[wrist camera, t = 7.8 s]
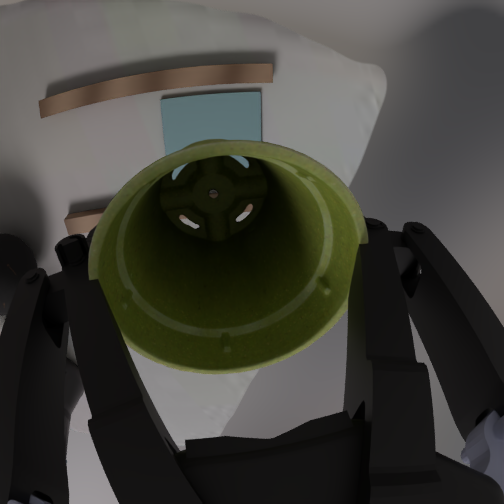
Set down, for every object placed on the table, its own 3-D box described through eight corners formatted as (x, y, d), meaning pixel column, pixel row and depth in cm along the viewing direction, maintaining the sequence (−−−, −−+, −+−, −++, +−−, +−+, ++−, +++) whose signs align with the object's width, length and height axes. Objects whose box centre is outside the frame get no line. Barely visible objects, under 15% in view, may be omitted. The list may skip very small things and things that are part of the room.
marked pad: (170, 189, 31) (170, 190, 31) (160, 99, 26) (160, 99, 26) (260, 180, 33) (261, 181, 33) (259, 91, 27) (260, 91, 27)
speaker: (-6, 270, 31) (-35, 315, 23) (-8, 211, 27) (-48, 252, 19) (47, 290, 35) (25, 341, 27) (51, 231, 31) (18, 281, 23)
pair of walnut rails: (72, 229, 31) (68, 235, 30) (44, 99, 23) (38, 100, 21) (269, 203, 35) (272, 209, 33) (268, 64, 26) (272, 63, 25)
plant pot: (325, 173, 17) (411, 252, 10) (230, 282, 20) (254, 393, 13) (196, 74, 13) (197, 67, 6) (105, 215, 16) (56, 322, 9)
